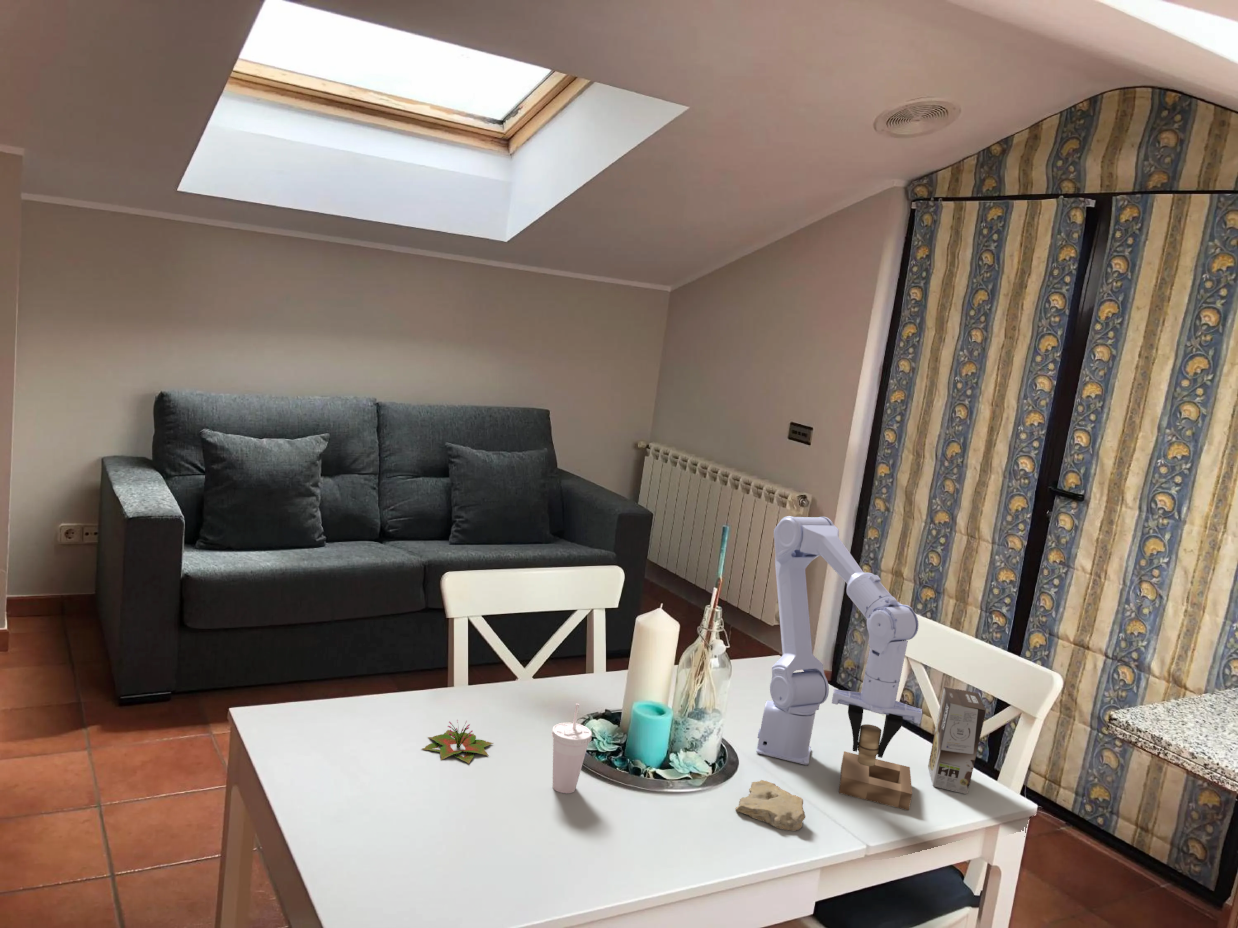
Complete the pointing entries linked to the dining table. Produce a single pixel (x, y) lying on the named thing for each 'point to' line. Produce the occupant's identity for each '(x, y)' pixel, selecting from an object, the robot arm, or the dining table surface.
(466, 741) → the lily flower
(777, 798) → the stone
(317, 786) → the dining table surface
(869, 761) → the peg
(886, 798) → the board
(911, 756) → the dining table surface
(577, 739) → the smoothie
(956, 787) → the coffee box
